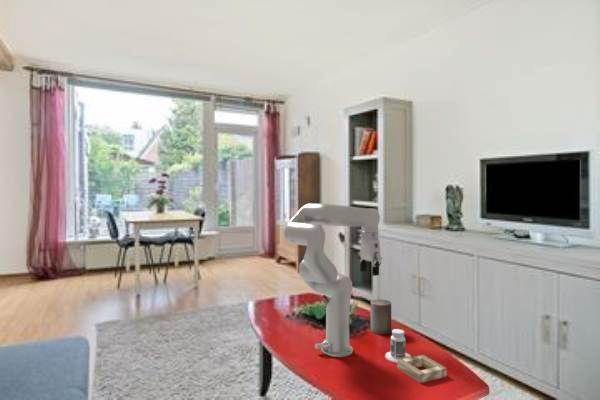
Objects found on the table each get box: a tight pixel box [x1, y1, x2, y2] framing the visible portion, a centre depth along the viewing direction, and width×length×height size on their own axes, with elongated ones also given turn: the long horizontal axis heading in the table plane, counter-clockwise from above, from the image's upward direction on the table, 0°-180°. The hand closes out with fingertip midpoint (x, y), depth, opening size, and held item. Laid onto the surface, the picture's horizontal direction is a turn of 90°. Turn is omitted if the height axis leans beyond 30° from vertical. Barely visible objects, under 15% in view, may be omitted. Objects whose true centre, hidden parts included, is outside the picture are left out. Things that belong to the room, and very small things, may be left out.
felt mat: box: [384, 350, 412, 364], centre depth 150 cm, size 10×10×1 cm
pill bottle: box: [390, 328, 407, 359], centre depth 150 cm, size 6×6×10 cm
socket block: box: [396, 354, 447, 384], centre depth 138 cm, size 12×12×3 cm
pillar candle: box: [370, 298, 392, 335], centre depth 179 cm, size 10×10×15 cm
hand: (369, 273), depth 173 cm, fingers open, 9 cm apart
